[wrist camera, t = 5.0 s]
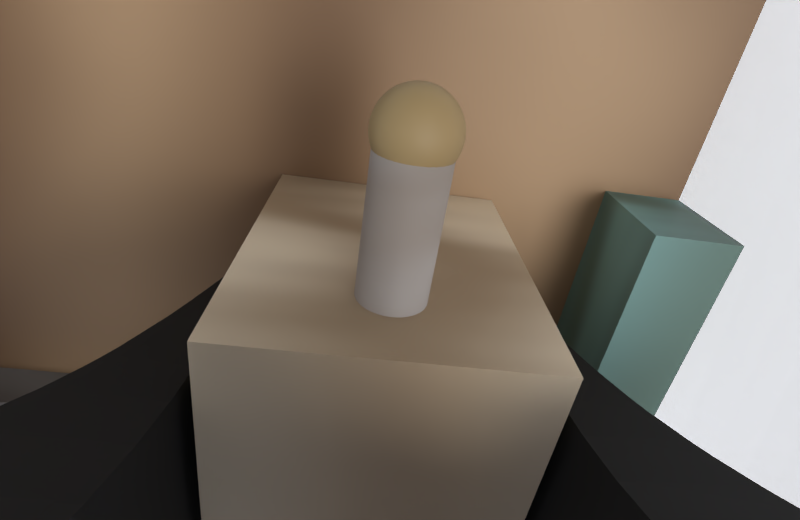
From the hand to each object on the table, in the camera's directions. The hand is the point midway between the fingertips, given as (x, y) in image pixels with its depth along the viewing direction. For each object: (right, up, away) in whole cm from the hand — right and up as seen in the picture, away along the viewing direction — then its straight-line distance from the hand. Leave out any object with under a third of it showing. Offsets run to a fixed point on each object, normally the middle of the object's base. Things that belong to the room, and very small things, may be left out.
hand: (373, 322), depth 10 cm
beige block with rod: (0, 0, +1) cm, 1 cm away
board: (-2, +3, +1) cm, 4 cm away
